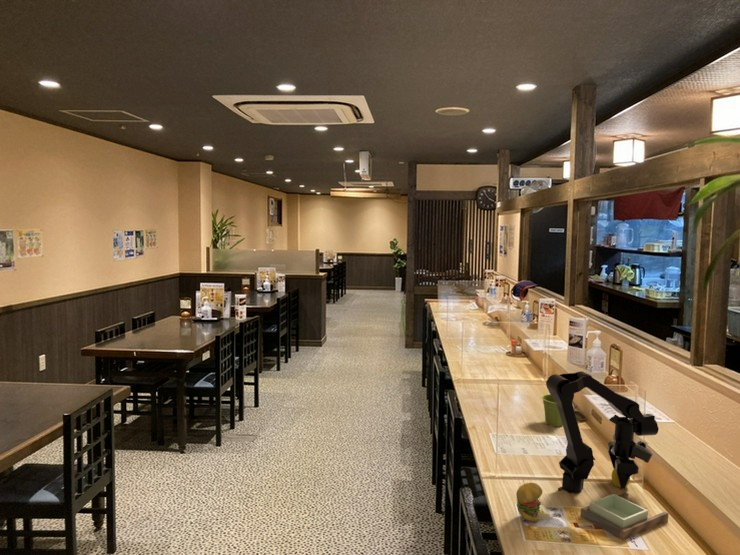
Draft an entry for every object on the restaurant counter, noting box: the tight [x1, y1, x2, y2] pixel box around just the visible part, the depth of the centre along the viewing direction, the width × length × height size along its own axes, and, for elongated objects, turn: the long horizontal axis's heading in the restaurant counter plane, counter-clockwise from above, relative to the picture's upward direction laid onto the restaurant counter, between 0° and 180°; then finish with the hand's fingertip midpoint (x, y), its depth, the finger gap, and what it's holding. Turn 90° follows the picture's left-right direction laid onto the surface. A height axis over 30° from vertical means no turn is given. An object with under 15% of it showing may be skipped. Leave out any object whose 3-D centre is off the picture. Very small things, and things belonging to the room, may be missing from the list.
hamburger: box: [515, 480, 543, 523], centre depth 163 cm, size 8×7×12 cm
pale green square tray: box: [589, 493, 649, 529], centre depth 162 cm, size 11×11×4 cm
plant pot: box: [541, 393, 563, 428], centre depth 241 cm, size 12×12×11 cm
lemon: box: [611, 468, 631, 489], centre depth 184 cm, size 6×6×8 cm
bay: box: [580, 492, 670, 541], centre depth 163 cm, size 21×14×4 cm, turn 121°
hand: (620, 481), depth 184 cm, fingers open, 9 cm apart
